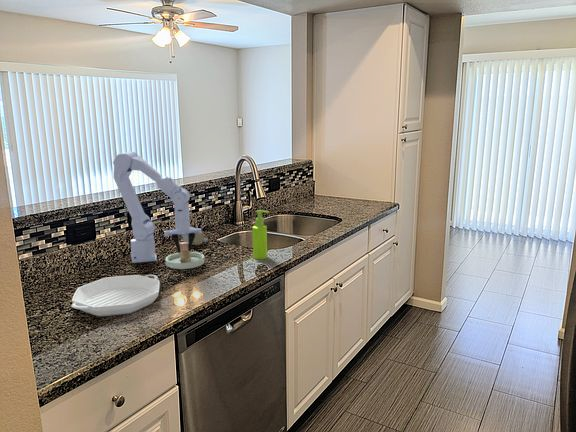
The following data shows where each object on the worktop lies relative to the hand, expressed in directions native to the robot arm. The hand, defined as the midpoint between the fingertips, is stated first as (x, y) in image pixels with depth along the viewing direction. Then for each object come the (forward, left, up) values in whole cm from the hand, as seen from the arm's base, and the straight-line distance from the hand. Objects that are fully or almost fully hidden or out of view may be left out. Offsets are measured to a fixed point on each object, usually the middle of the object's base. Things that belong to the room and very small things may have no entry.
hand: (184, 251), depth 184 cm
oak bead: (0, -8, -3) cm, 8 cm away
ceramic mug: (+7, +23, -4) cm, 24 cm away
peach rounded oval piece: (0, 0, -1) cm, 1 cm away
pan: (-23, -37, -4) cm, 44 cm away
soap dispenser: (+31, -6, -4) cm, 32 cm away
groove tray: (0, -4, -3) cm, 5 cm away
